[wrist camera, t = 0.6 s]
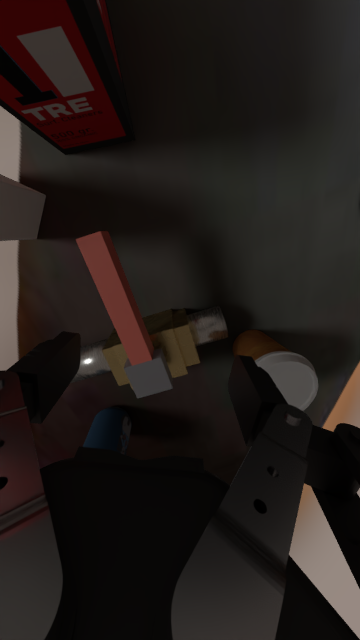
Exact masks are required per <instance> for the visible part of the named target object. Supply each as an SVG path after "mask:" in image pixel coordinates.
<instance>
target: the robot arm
mask: <svg viewBox="0 0 360 640" xmlns="http://www.w3.org/2000/svg"><path fill="white" fill-rule="evenodd" d="M80 361H81V345H80V334H79V333H72V332H64V331H63V332H61V333H60V334H59V335H58V336H57V337H55V338H54V339H53V340H47V341H45V342H43V343H40V344H38V345H37V346H36V347H35V348H34V349H32V351H30V352H29V353H27V354H26V356H24V357H22V358H21V359H20V360H19V361H18V362H16V363H15V364H14V365H13V366H11V367H10V368H9V369H8V370H6V371H0V640H360V639H359V638H358V637H357V636H356V634H355V633H354V632H353V631H352V630H351V629H350V627H349V626H348V625H347V624H346V622H345V621H344V620H343V619H342V618H341V617H340V615H339V614H338V613H337V612H336V610H335V609H334V608H333V607H332V606H331V605H330V603H329V602H328V601H327V600H326V599H325V597H324V596H323V595H322V594H321V593H320V591H319V590H318V589H317V588H316V587H315V585H314V584H313V583H312V582H311V581H310V579H309V578H308V577H307V576H306V575H305V573H303V571H302V570H301V569H300V568H299V566H298V565H297V564H296V563H295V562H294V560H293V559H292V558H291V557H290V556H289V551H290V546H291V541H292V536H293V532H294V527H295V522H296V518H297V513H298V508H299V503H300V499H301V494H302V490H303V485H304V483H305V484H307V485H310V486H311V487H312V489H313V491H314V493H315V495H316V498H317V500H318V502H319V504H320V506H321V508H322V510H323V512H324V515H325V517H326V519H327V521H328V523H329V525H330V527H331V529H332V531H333V534H334V536H335V538H336V540H337V542H338V544H339V546H340V548H341V551H342V552H343V555H344V557H345V559H346V561H347V563H348V565H349V567H350V570H351V572H352V574H353V576H354V578H355V580H356V582H357V584H358V586H359V588H360V497H359V496H358V494H357V491H358V490H359V488H360V428H358V427H355V426H353V425H350V424H345V423H340V424H338V425H337V426H336V428H335V430H334V432H332V431H329V430H326V429H323V428H320V427H317V426H315V425H313V423H312V421H311V419H310V418H309V416H308V415H307V414H306V413H304V412H303V411H302V410H300V409H299V408H297V407H295V406H292V405H289V404H288V403H287V401H286V400H285V398H284V397H283V395H282V394H281V392H280V390H279V389H278V387H276V384H275V383H274V382H273V380H272V378H271V377H270V375H269V373H267V372H266V371H265V370H264V369H263V368H261V367H258V366H257V364H256V363H255V361H254V359H253V358H252V357H251V356H244V355H236V357H235V359H234V363H233V366H232V370H231V373H230V377H229V381H228V391H229V394H230V397H231V400H232V404H233V407H234V410H235V413H236V416H237V419H238V422H239V425H240V428H241V431H242V434H243V438H244V441H245V444H246V446H252V447H251V448H250V450H249V452H248V454H247V456H246V458H245V460H244V461H243V463H242V465H241V467H240V469H239V471H238V473H237V474H236V476H235V478H234V480H233V482H232V484H231V486H230V485H229V484H227V483H226V482H225V481H224V480H222V479H221V478H219V477H218V476H216V475H214V474H212V473H210V472H208V471H206V470H204V465H203V459H200V458H190V457H180V456H169V457H162V458H155V459H149V460H138V459H135V458H132V457H129V456H127V455H124V454H121V453H118V452H116V451H113V450H109V449H99V448H89V447H79V448H78V450H77V452H76V455H75V457H74V458H68V459H64V460H61V461H58V462H55V463H52V464H50V465H48V466H46V467H43V468H42V469H39V464H38V459H37V455H36V450H35V445H34V440H33V436H32V431H31V426H30V423H39V424H41V423H42V422H43V421H44V419H45V418H46V416H47V415H48V413H49V412H50V411H51V409H52V408H53V406H54V405H55V404H56V402H57V401H58V399H59V398H60V397H61V395H62V394H63V392H64V391H65V389H66V388H67V387H68V385H69V384H70V382H71V381H72V380H73V378H74V377H75V375H76V374H77V372H78V370H79V367H80Z"/></svg>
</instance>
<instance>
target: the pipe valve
mask: <svg viewBox="0 0 360 640" xmlns="http://www.w3.org/2000/svg"><path fill="white" fill-rule="evenodd" d="M142 319H143V322H144V324H145V327H146V329H147V332H148V334H149V337H150V340H151V342H152V345H153V347H154V350H157V349H160V348H162V351H163V354H164V356H165V359H166V362H167V364H168V367H169V370H170V372H171V375H172V377H173V378H175V377H178V376H182V375H185V374H188V371H187V366H191V365H194V364H198V363H200V360H199V356H198V351H197V346H200V345H204V344H207V343H211V342H214V341H218V340H221V339H225V338H228V330H227V326H226V323H225V319H224V316H223V314H222V311H221V309H220V307H219V306H216V307H212V308H209V309H206V310H202V311H199V312H196V313H192V314H189V315H187V314H186V310H185V308H183V309H180V310H177V311H172V309H170V310H166V311H163V312H160V313H157V314H153V315H150V316H147V317H143V318H142ZM127 358H128V356H127V354H126V351H125V349H124V347H123V345H122V342H121V340H120V338H119V336H118V333H117V331H116V329H114V330H113V332H112V333H111V335H110V337H109V339H106V340H103V341H100V342H96V343H93V344H90V345H86V346H83V347H81V361H80V367H79V370H78V372H77V374H76V375H75V377H74V378H73V380H72V381H71V383H73V382H77V381H80V380H84V379H87V378H90V377H94V376H97V375H101V374H104V373H108V372H111V371H112V373H113V375H114V377H115V379H116V381H117V383H118V385H119V386H121V385H124V384H128V383H130V381H129V379H128V377H127V375H126V372H125V370H124V366H125V363H126V360H127ZM130 385H131V383H130ZM131 387H132V385H131ZM132 389H133V387H132Z"/></svg>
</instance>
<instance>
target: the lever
mask: <svg viewBox="0 0 360 640" xmlns="http://www.w3.org/2000/svg"><path fill="white" fill-rule="evenodd" d="M76 242H77V244H78V246H79V248H80V251H81V253H82V255H83V257H84V259H85V262H86V264H87V266H88V268H89V271H90V273H91V275H92V277H93V280H94V282H95V284H96V286H97V289H98V291H99V293H100V295H101V298H102V300H103V302H104V304H105V307H106V309H107V311H108V313H109V316H110V318H111V320H112V322H113V324H114V327H115V329H116V331H117V333H118V336H119V338H120V340H121V342H122V345H123V347H124V349H125V351H126V354H127V356H128V358H127V360H126V363H125V366H124V370H125V372H126V375H127V377H128V379H129V381H130V383H131V385H132V387H133V390H134V392H135V394H136V396H137V398H141V397H144V396H148V395H151V394H155V393H158V392H162V391H166V390H169V389H173V377H172V375H171V372H170V370H169V367H168V364H167V362H166V359H165V356H164V354H163V351H162V348H160V349H157V350H154V347H153V345H152V342H151V340H150V337H149V334H148V332H147V329H146V327H145V324H144V322H143V319H142V317H141V314H140V312H139V309H138V306H137V304H136V301H135V299H134V296H133V294H132V291H131V289H130V286H129V283H128V281H127V278H126V276H125V273H124V271H123V268H122V266H121V263H120V260H119V258H118V255H117V253H116V250H115V248H114V245H113V243H112V240H111V238H110V235H109V232H108V231H99V232H96V233H93V234H90V235H87V236H84V237H81V238H78V239H76Z"/></svg>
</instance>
